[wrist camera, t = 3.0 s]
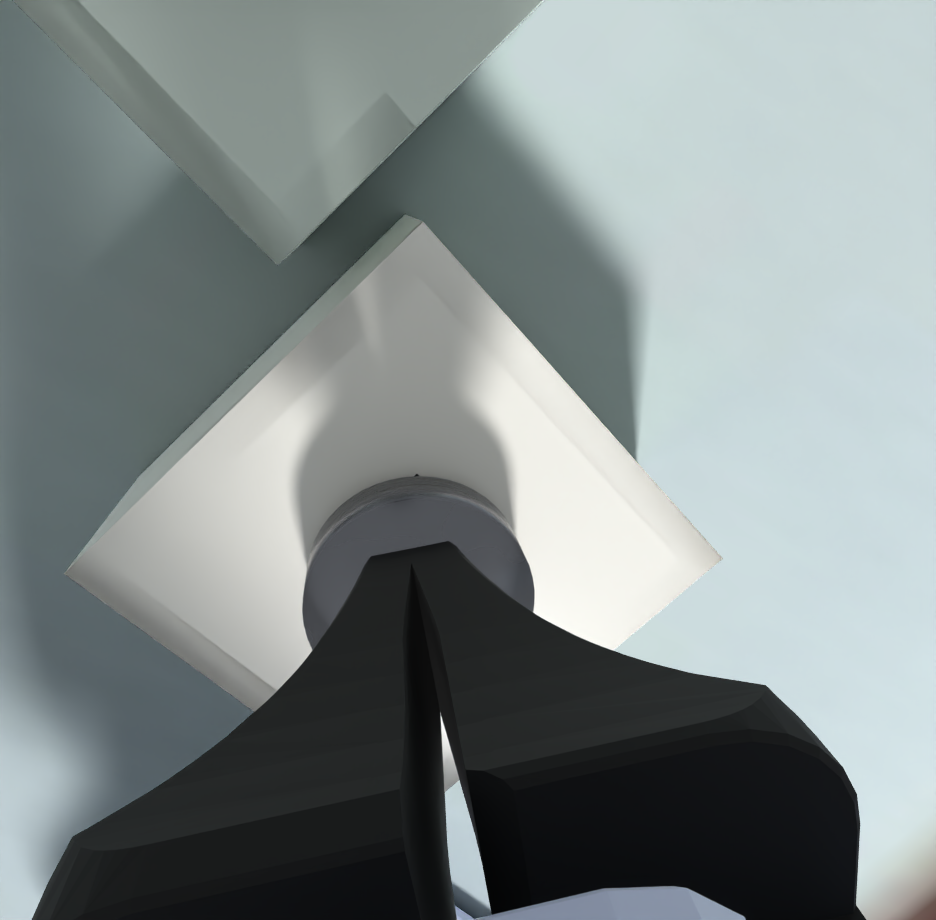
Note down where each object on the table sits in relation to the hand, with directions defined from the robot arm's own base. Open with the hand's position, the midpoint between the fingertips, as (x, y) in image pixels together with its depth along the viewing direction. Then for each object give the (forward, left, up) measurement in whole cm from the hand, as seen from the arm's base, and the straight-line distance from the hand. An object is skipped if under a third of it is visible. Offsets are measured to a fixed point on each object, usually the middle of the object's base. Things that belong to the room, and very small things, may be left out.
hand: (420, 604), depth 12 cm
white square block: (0, 0, -6) cm, 6 cm away
